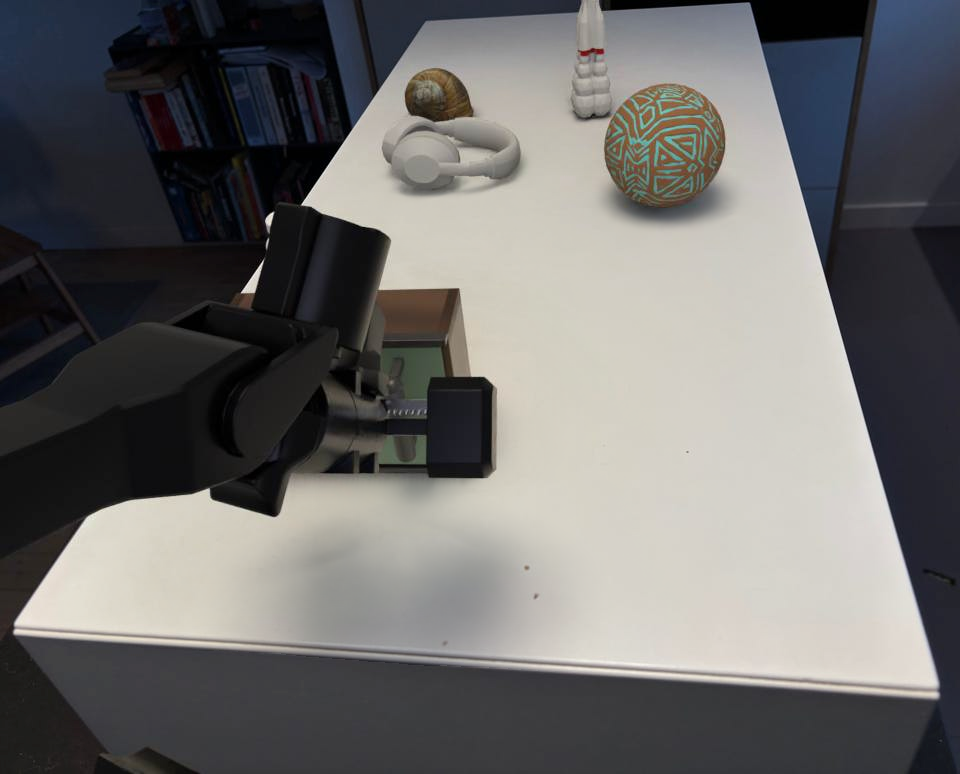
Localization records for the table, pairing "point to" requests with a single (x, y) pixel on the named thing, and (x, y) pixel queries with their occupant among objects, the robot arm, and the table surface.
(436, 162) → the headphones
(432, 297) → the cupboard
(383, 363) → the sliding door
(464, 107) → the seashell
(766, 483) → the table surface
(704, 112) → the decorative sphere
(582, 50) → the rocket model
